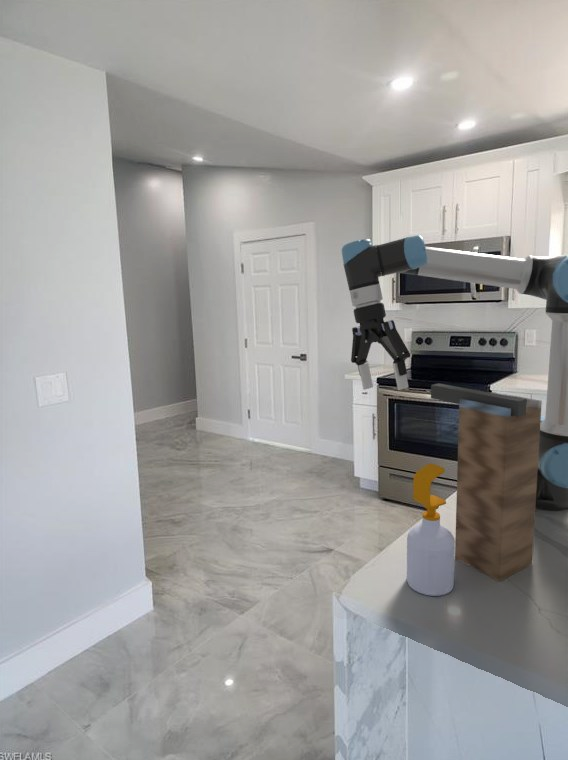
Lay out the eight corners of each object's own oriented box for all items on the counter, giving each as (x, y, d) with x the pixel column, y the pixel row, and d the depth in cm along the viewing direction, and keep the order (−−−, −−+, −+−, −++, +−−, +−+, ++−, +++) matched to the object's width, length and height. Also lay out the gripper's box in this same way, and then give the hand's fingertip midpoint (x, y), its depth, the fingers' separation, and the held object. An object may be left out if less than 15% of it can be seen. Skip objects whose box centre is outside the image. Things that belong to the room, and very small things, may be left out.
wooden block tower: (453, 556, 110) (457, 399, 104) (485, 542, 116) (491, 391, 109) (499, 581, 101) (507, 409, 94) (532, 563, 106) (541, 400, 100)
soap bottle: (463, 587, 99) (467, 469, 95) (430, 602, 95) (432, 479, 90) (429, 566, 107) (431, 456, 102) (397, 579, 103) (397, 465, 98)
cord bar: (430, 398, 112) (431, 384, 112) (438, 396, 113) (439, 383, 113) (517, 416, 95) (518, 401, 94) (526, 414, 96) (526, 399, 95)
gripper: (327, 314, 133) (344, 391, 135) (389, 299, 111) (407, 392, 113) (350, 308, 136) (366, 384, 138) (414, 294, 114) (432, 384, 116)
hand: (385, 388), depth 126 cm, fingers open, 13 cm apart
